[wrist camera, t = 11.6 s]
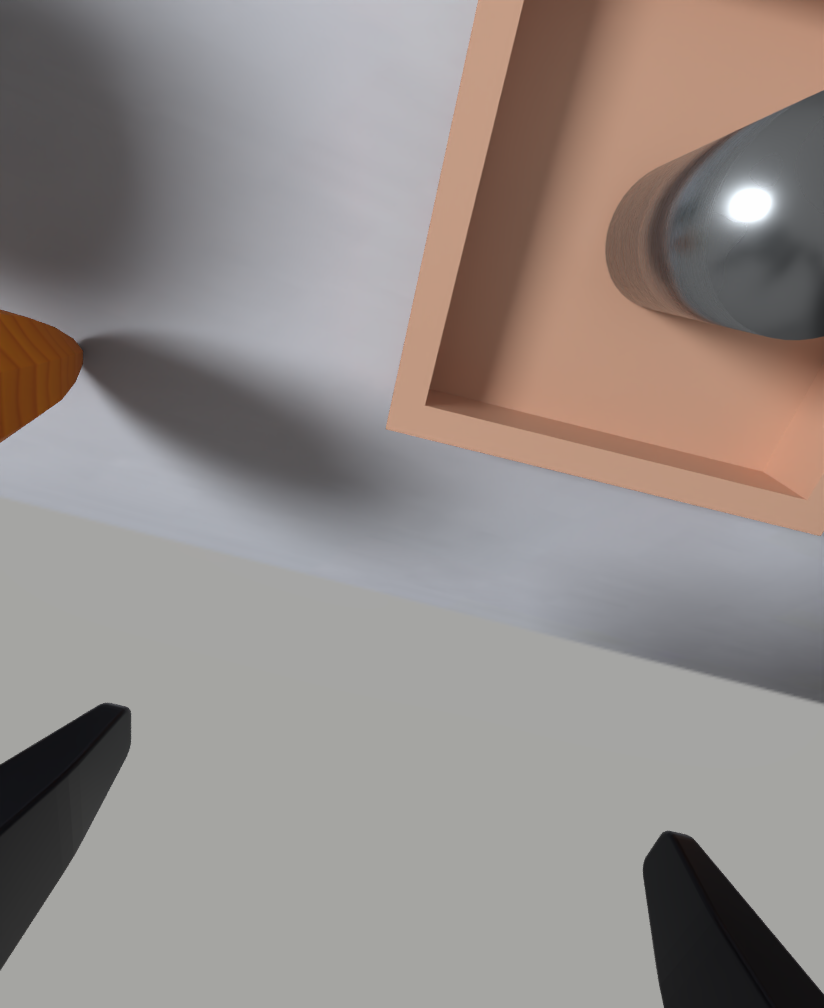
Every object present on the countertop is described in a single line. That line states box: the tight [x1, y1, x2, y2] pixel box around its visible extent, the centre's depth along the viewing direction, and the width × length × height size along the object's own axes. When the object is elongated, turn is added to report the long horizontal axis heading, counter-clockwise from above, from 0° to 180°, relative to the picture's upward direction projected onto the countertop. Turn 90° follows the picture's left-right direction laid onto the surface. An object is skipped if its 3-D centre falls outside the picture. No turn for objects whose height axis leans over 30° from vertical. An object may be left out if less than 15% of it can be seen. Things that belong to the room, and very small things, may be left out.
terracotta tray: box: [386, 0, 824, 536], centre depth 15 cm, size 14×14×4 cm
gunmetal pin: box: [605, 90, 824, 340], centre depth 12 cm, size 4×4×7 cm
